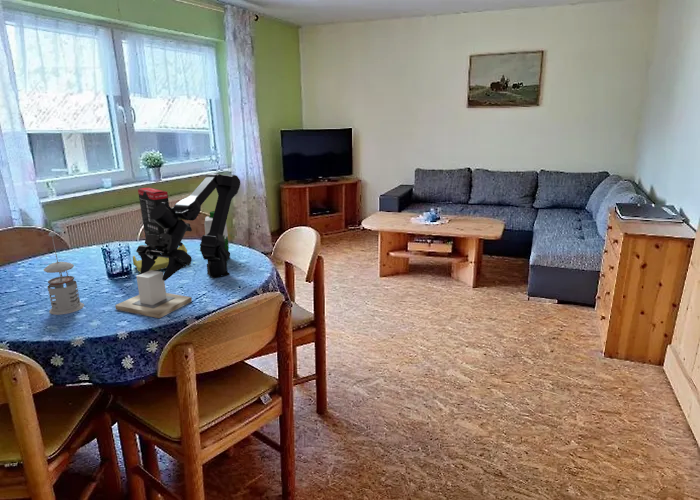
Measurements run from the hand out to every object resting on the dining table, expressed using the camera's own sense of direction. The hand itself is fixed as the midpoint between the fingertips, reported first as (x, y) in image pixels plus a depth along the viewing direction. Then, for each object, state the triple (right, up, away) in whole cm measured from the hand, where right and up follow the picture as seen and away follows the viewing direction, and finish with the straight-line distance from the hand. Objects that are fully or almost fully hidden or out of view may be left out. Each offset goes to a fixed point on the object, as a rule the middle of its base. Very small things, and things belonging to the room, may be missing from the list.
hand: (152, 278), depth 148 cm
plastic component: (-13, +2, +41) cm, 43 cm away
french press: (-28, -10, +2) cm, 30 cm away
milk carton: (+8, +5, +48) cm, 49 cm away
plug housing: (0, -7, +1) cm, 7 cm away
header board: (0, -9, +2) cm, 9 cm away
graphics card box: (-24, +9, +67) cm, 72 cm away
